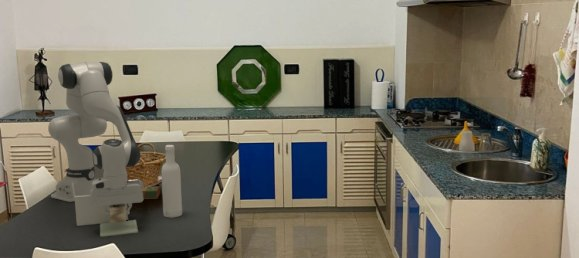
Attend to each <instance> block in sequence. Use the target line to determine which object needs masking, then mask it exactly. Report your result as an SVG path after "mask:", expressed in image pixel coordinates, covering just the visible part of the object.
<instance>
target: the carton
mask: <svg viewBox="0 0 579 258" xmlns="http://www.w3.org/2000/svg"><path fill="white" fill-rule="evenodd" d="M142 193H143V200H145V199H146V200H152V199H153V200H155V199H158V198H159V196H160V195H161V186H143V189H142Z"/></svg>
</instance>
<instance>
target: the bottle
mask: <svg viewBox="0 0 579 258" xmlns="http://www.w3.org/2000/svg"><path fill="white" fill-rule="evenodd" d="M175 150H176V149H175V145H173V144H166V145H165V146H164V151H165V163H163V165H162V167H161V171H160V172H161V189H162V190H161V191H162V192H161V193H162V212H163V216H164V217H166V218H172V219H173V218H178V217H180V216H182V215H183V201H182V199H183V197H182V181H181V180H182V179H181V178H182V176H181V168H180V165H179V164H178V163H177V162H176V159H175V157H176V156H175V154H176V153H175Z"/></svg>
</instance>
